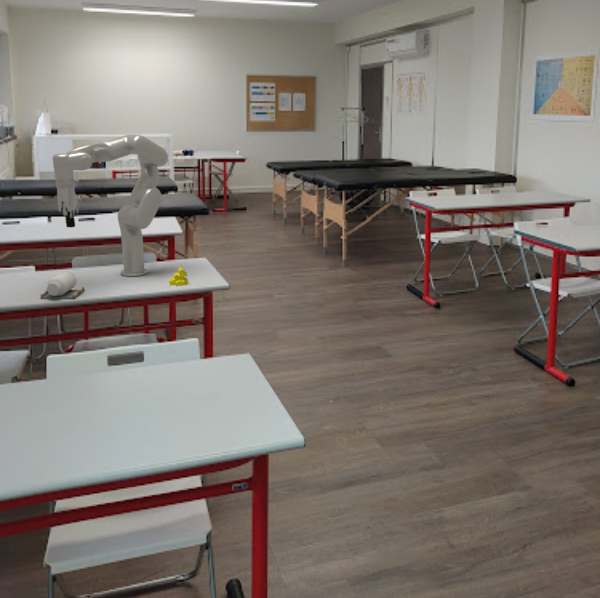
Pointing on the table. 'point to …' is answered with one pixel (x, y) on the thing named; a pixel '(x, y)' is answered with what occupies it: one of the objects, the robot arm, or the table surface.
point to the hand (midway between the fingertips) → (71, 226)
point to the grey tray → (65, 296)
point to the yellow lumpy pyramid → (179, 278)
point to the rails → (72, 295)
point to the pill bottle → (61, 283)
